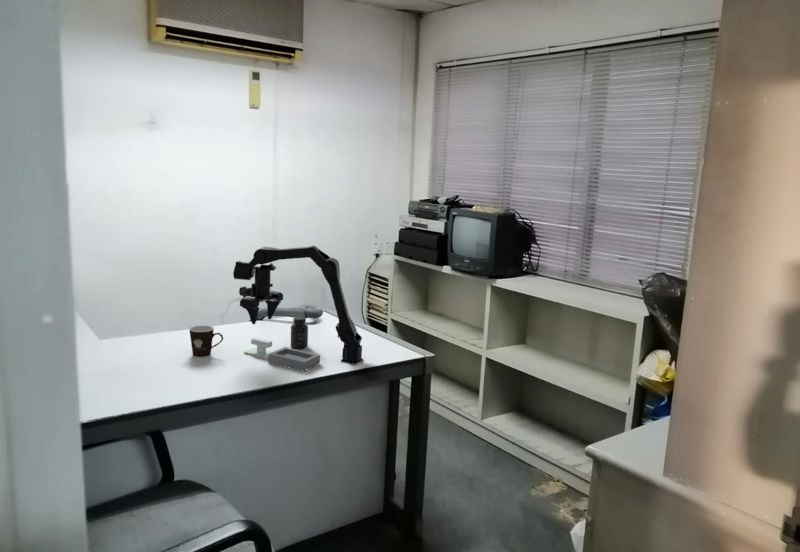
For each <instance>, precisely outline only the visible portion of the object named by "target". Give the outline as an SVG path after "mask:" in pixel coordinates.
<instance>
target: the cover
mask: <svg viewBox="0 0 800 552" xmlns="http://www.w3.org/2000/svg"><path fill="white" fill-rule="evenodd" d="M250 341H251V342H250V344H251V345H253V346H254V345H255V346H256V347H252V348H251V349H247V350H245V351H243V354H244V353H245V355H248V354H249V356H252V355H254V356H253V357H256V356H258V357H257V358H260V357H261V359H264V358H266V359H265V360H268V354H269V353H271V352H272V351H269V350H267V349H268V348H269V349H270V348H271V347H273V341H272V340H268V339H265V338H264V339H263V338H260V337H252V338H251V340H250Z"/></svg>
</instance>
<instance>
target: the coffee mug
mask: <svg viewBox="0 0 800 552" xmlns="http://www.w3.org/2000/svg"><path fill="white" fill-rule="evenodd" d="M188 331H189V337H190V342H191V343H190V344H191V345H190V346H191V352H192V356H194V357H195V358H206V357H209V356H211V354H212V353H211V352H212V349H213V348H215V347H217V346H218V345H220V344H221V343H222V342H223V340H224V336H223V334H222V333H220V332H214V331H215V327H213V326H210V325H194V326H192V327H190V328H189V330H188ZM217 335H218V336H220V337H221V340H220V341H219V342H217V343H215V344H214V345H213V338H214V337H215V336H217Z"/></svg>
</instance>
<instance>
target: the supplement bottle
mask: <svg viewBox="0 0 800 552" xmlns="http://www.w3.org/2000/svg"><path fill="white" fill-rule="evenodd" d="M292 323H293V324H291V326H290V348H292V349H293V348H295V349H296V350H305V349H307V348H308V346H309V345H308V344H309V326H308V324H306V323H307V321H306V317H304V316H295V317H293V321H292ZM306 347H307V348H306ZM304 348H305V349H304Z"/></svg>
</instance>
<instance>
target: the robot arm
mask: <svg viewBox="0 0 800 552" xmlns="http://www.w3.org/2000/svg"><path fill="white" fill-rule="evenodd" d="M306 258H307V259H308V258H309V259H311V260H312V262H314V263H315V265H317V267H318V268H319V269H320V270H321V272H322V274H323V276H324V279H325V281H326V282H327V283H328V285H329V288H330V293H331V295H332V296H331V297H332V299H333V304H334V308H335V311H336V315H337V318H338V322H337V324H336V325H335V330H336V332H337V338H339V340H340V341H341V342H342V343H343V347H342V358H341V359H340V361H341V362H342V361H345V362H344V363H346V362H349V363H348V364H351V363H354V364H353V365H357V364H359V363H361V362H362V361H361V360H363V359H364V358H363V357H362V356H363V355H362V353H363V345H361V341H362V340H363V337H362V336H361V335H360V334H359V332H358V330H357V327H356V326H355V323H354V322H353V320H352V318H351V317H350V314H349V311H348V306H347V303H346V302H347V301H346V300H345V299H346V298H345V295H344V292H343V287H342V283H341V276H340V275H341V269H340V264H339V260H338V259H336V258H334V257H331V256H329V254H327V253H325V252H324V251H322V250H321V249H320V248H318V246H315V245H310V246H301V247H288V248H287V247H286V248H277V247H272V246H261V247H259V248H258V249H256V250H255V251H254V253H253V258H252V259H251V260H250V261H241V260H236V261H235V265H234V268H233V272H232V273H233V279H234V280H241V281H243V280H244V281H251V280H252V279H254V282H253V283H251V287H247V286H241V287H239V290H238V293H239V295H240V296H241V297H242V298H241V299H240V300H239V307H242V308H243V309H245V310H246V311H247V313H248V316H249V318H250V321H251V322H250V323H251V324H252V325H256V323H257V319H258V315H259V310H260V307H259V306H260V303H264V302H265V304H266V305H267V309H266V310H267V319H268V320H271V319H272V318H273V315H274V314H275V312H276V310H277V309H278V306H279V305H280V303H282V301H283V300H284V294H283V293H282V292H280V291H275V290H271V288H272V287H274V286H273V284H274V283H272V282H271V271H275V270H276V269H277V266H276V265H274V264H273V262H276V261H281V260H282V261H283V260H292V259H293V260H294V259H295V260H296V259H306ZM257 265H260V266H257ZM360 361H361V362H360ZM363 361H364V360H363ZM358 362H359V363H358ZM356 363H357V364H356Z"/></svg>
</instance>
